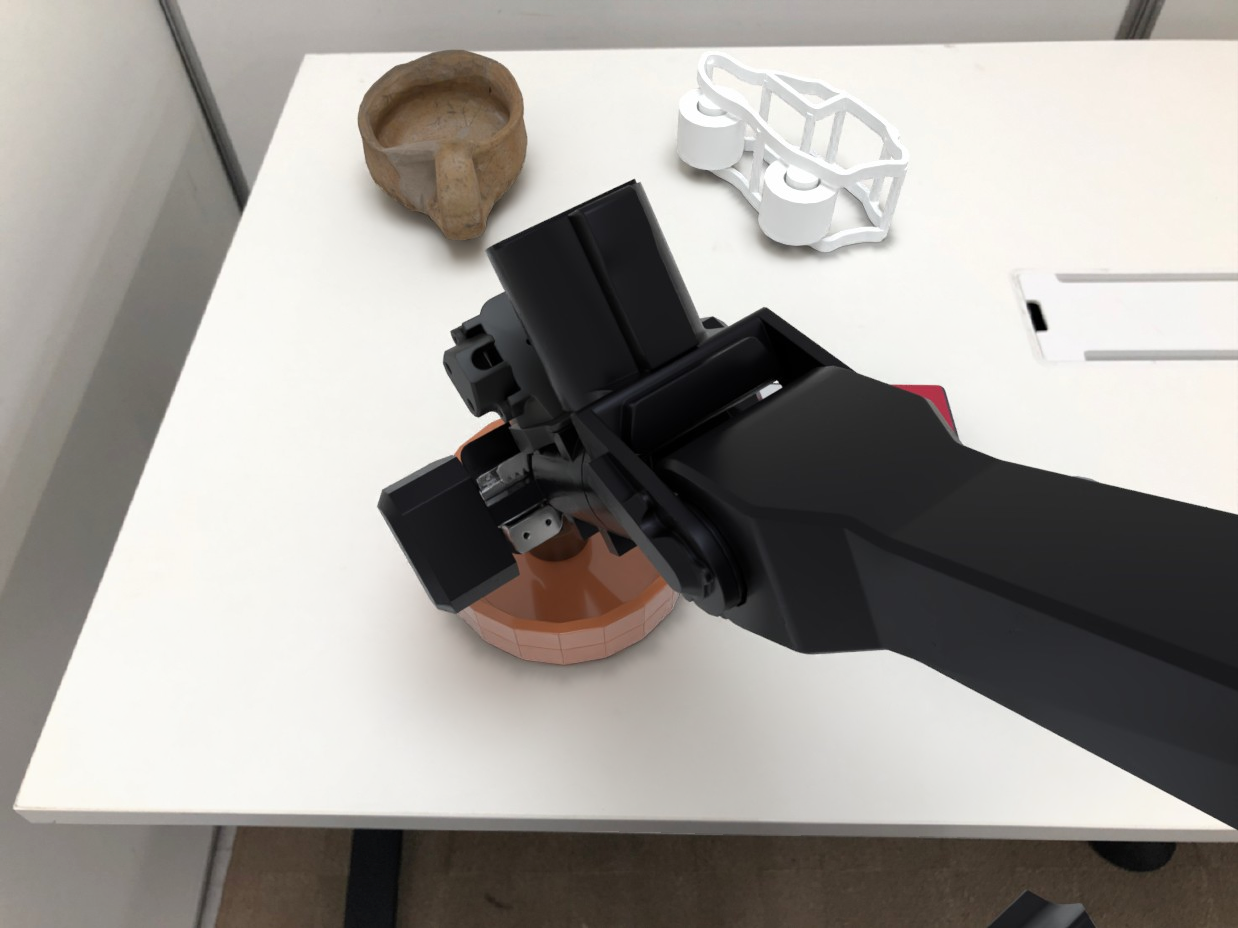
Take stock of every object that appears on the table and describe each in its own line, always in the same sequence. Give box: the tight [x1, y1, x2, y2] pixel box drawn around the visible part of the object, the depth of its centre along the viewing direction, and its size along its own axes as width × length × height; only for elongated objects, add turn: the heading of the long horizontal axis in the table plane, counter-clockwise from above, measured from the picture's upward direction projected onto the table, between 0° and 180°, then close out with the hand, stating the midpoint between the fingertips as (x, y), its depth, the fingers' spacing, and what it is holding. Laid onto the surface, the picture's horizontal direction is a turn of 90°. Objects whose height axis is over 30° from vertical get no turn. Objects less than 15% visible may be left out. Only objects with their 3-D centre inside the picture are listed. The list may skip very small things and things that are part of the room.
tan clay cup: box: [357, 49, 528, 241], centre depth 69 cm, size 18×14×10 cm
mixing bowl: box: [453, 418, 681, 666], centre depth 52 cm, size 15×15×5 cm
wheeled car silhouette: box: [676, 50, 910, 253], centre depth 70 cm, size 20×11×7 cm, turn 33°
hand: (531, 446), depth 48 cm, fingers closed on pestle, 3 cm apart
